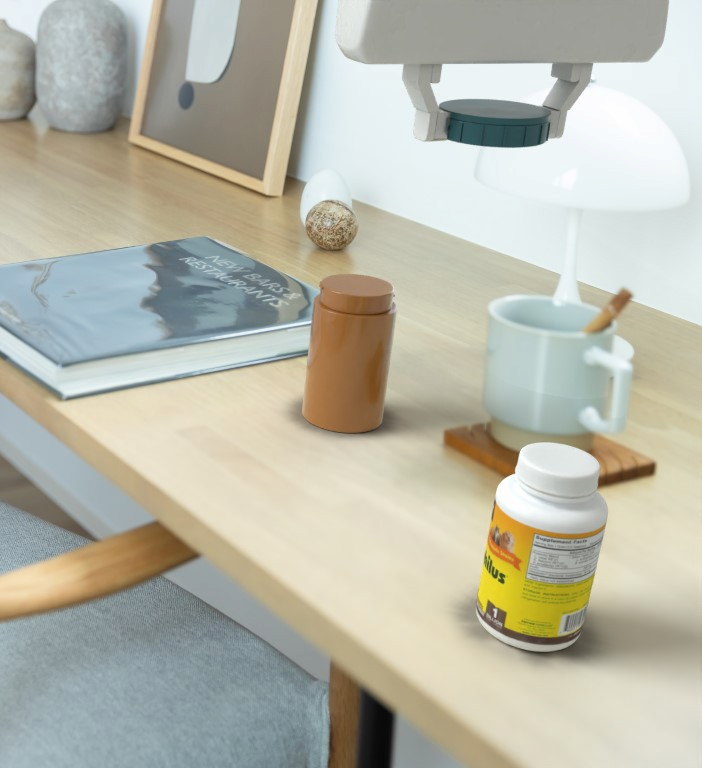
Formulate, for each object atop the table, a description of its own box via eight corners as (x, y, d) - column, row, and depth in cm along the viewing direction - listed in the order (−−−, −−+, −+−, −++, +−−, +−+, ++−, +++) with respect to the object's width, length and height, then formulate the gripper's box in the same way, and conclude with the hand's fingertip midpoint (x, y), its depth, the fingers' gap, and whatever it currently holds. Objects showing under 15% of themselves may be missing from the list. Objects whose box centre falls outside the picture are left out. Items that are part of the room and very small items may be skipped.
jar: (371, 400, 91) (387, 272, 87) (391, 433, 86) (410, 299, 82) (295, 399, 91) (308, 271, 87) (310, 432, 85) (325, 297, 81)
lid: (417, 137, 71) (420, 108, 70) (460, 121, 76) (463, 94, 75) (524, 153, 67) (528, 123, 66) (562, 136, 72) (566, 108, 71)
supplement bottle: (469, 591, 67) (499, 428, 63) (572, 605, 66) (608, 441, 62) (476, 648, 61) (508, 475, 57) (587, 664, 61) (627, 490, 57)
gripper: (645, -102, 72) (602, 125, 77) (336, -113, 67) (314, 131, 72) (718, -101, 66) (666, 145, 71) (386, -112, 61) (358, 153, 66)
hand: (487, 138), depth 72 cm, fingers closed on lid, 6 cm apart
